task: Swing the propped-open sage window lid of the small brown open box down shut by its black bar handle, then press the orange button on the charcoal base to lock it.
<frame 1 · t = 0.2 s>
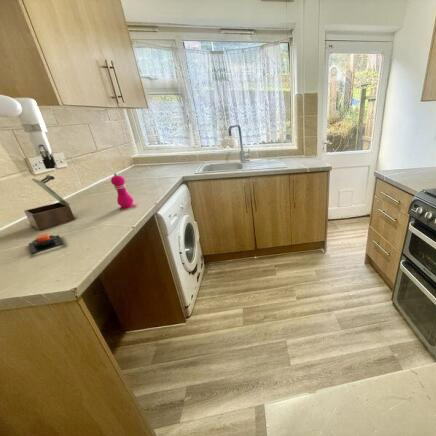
hand: (51, 166, 115), 26 cm above the countertop, tool pointing down, fingers open, 9 cm apart
lock button: (43, 238, 94), point 4 cm above the countertop, slide at 0.1 cm
pepper mill: (128, 208, 134), on the countertop
frame lid: (56, 188, 117), point 16 cm above the countertop, hinge at 65.0°
lock base: (48, 248, 96), on the countertop
brown open box: (53, 222, 118), on the countertop
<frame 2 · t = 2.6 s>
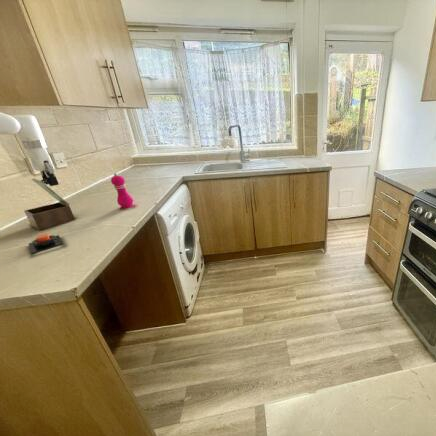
hand: (52, 184, 115), 18 cm above the countertop, tool pointing down, fingers closed on frame lid, 5 cm apart
frame lid: (56, 188, 117), point 16 cm above the countertop, hinge at 65.0°, touching gripper
everything else where it was.
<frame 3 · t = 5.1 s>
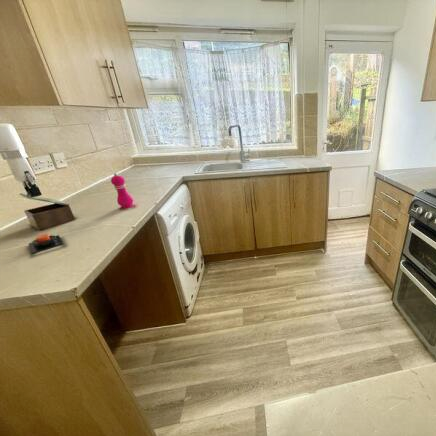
hand: (34, 194, 111), 15 cm above the countertop, tool pointing down, fingers closed on frame lid, 5 cm apart
frame lid: (46, 194, 114), point 14 cm above the countertop, hinge at 31.1°, touching gripper
everything else where it was.
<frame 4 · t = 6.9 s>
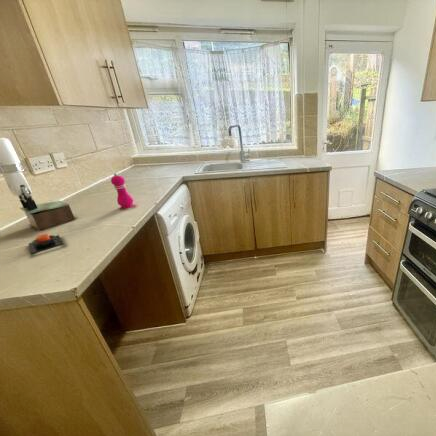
hand: (30, 207, 111), 10 cm above the countertop, tool pointing down, fingers closed on frame lid, 5 cm apart
frame lid: (43, 201, 114), point 11 cm above the countertop, hinge at 3.8°, touching gripper
everything else where it was.
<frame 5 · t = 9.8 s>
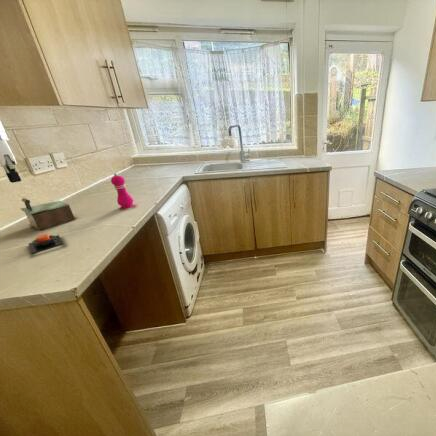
hand: (16, 181, 105), 22 cm above the countertop, tool pointing down, fingers closed
frame lid: (43, 202, 114), point 11 cm above the countertop, hinge at 2.1°
everything else where it was.
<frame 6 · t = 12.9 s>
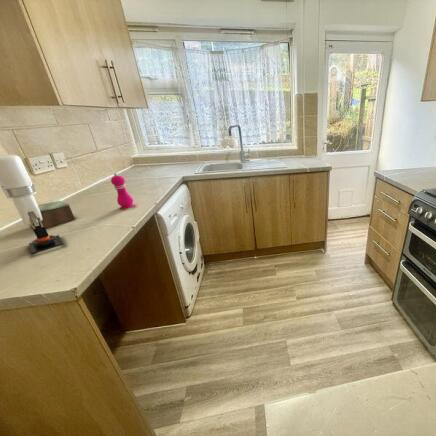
hand: (43, 236, 94), 5 cm above the countertop, tool pointing down, fingers closed
lock button: (43, 238, 94), point 4 cm above the countertop, slide at -0.2 cm, touching gripper
everything else where it was.
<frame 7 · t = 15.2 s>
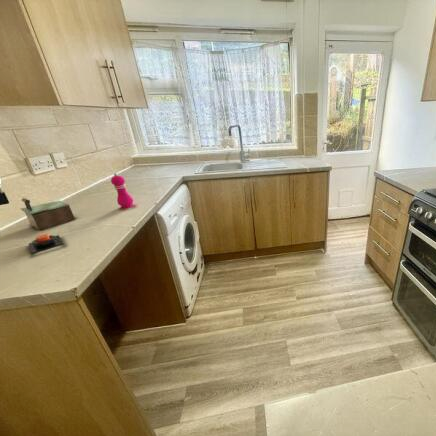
hand: (2, 204, 85), 20 cm above the countertop, tool pointing down, fingers closed
lock button: (43, 238, 94), point 4 cm above the countertop, slide at 0.1 cm
everything else where it was.
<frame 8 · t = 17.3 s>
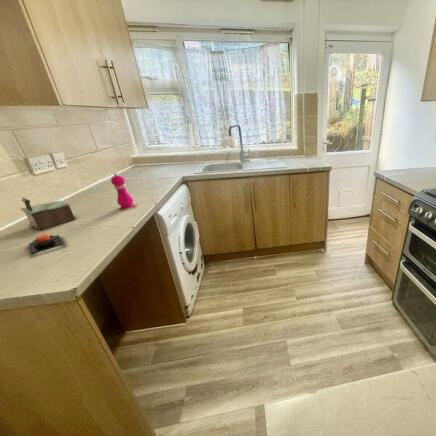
nothing on the countertop moved.
at the end: frame lid at +2° (first picture: +65°); lock button pushed in 1.1 cm at the most during the clip, back to where it started at the end; lock button slide at 0.1 cm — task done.
